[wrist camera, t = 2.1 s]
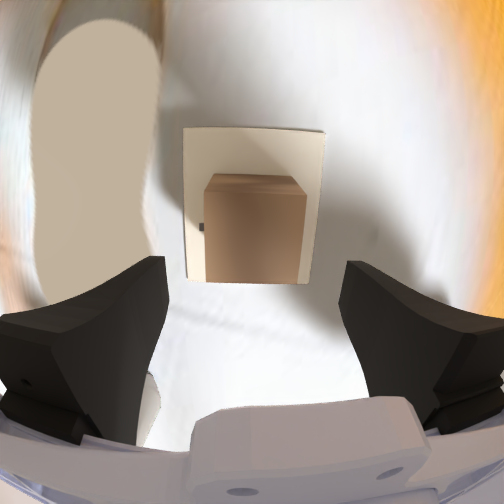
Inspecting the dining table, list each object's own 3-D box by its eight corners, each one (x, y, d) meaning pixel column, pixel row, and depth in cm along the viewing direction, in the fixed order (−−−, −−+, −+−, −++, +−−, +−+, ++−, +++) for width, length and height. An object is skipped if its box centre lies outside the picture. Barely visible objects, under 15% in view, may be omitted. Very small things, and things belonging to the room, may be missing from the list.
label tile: (324, 133, 18) (325, 133, 18) (307, 282, 22) (308, 284, 22) (183, 127, 17) (183, 127, 17) (188, 279, 22) (188, 281, 22)
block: (291, 176, 19) (307, 195, 14) (285, 246, 21) (297, 284, 16) (213, 173, 19) (203, 191, 14) (214, 245, 21) (205, 282, 16)
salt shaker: (102, 363, 26) (60, 468, 14) (148, 357, 26) (113, 479, 14) (130, 398, 29) (103, 496, 17) (174, 395, 28) (155, 504, 16)
